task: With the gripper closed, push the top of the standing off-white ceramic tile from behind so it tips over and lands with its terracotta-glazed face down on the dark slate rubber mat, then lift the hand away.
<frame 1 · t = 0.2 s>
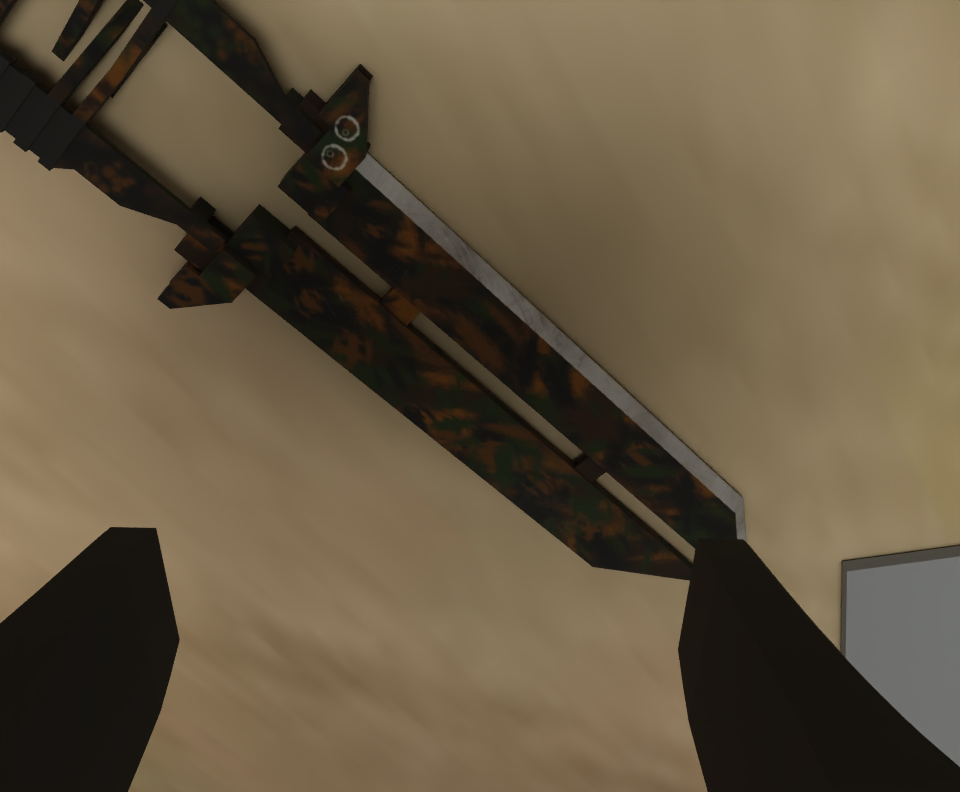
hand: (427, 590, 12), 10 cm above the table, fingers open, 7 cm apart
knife: (396, 262, 21), on the table
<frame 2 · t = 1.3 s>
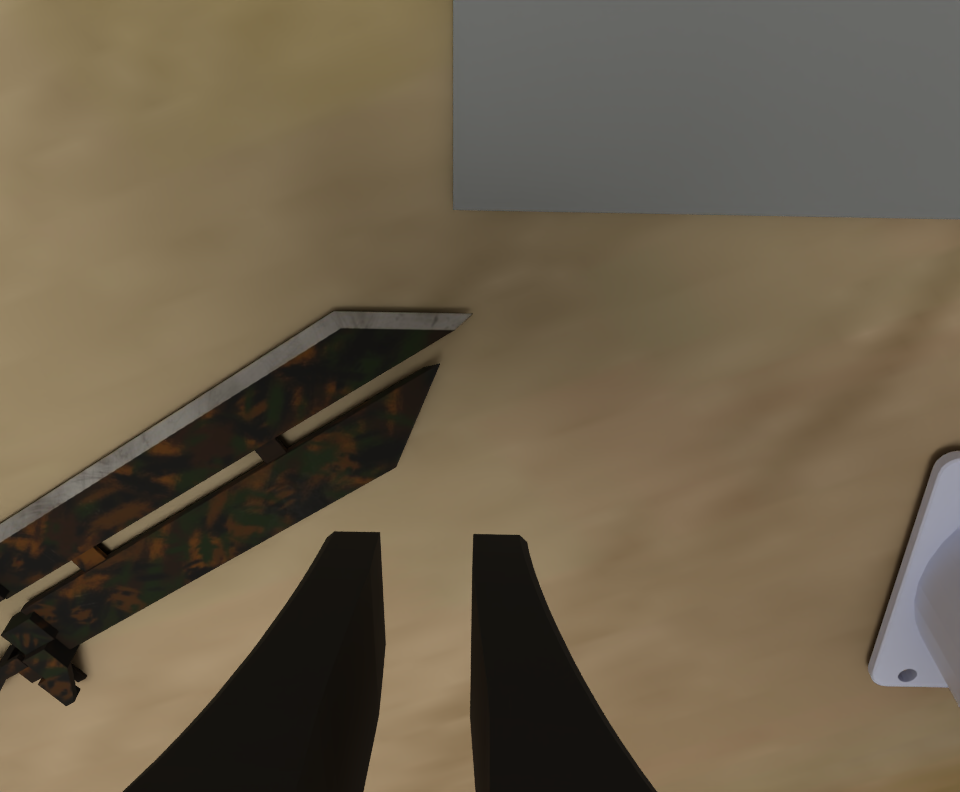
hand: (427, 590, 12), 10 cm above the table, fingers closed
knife: (77, 535, 26), on the table
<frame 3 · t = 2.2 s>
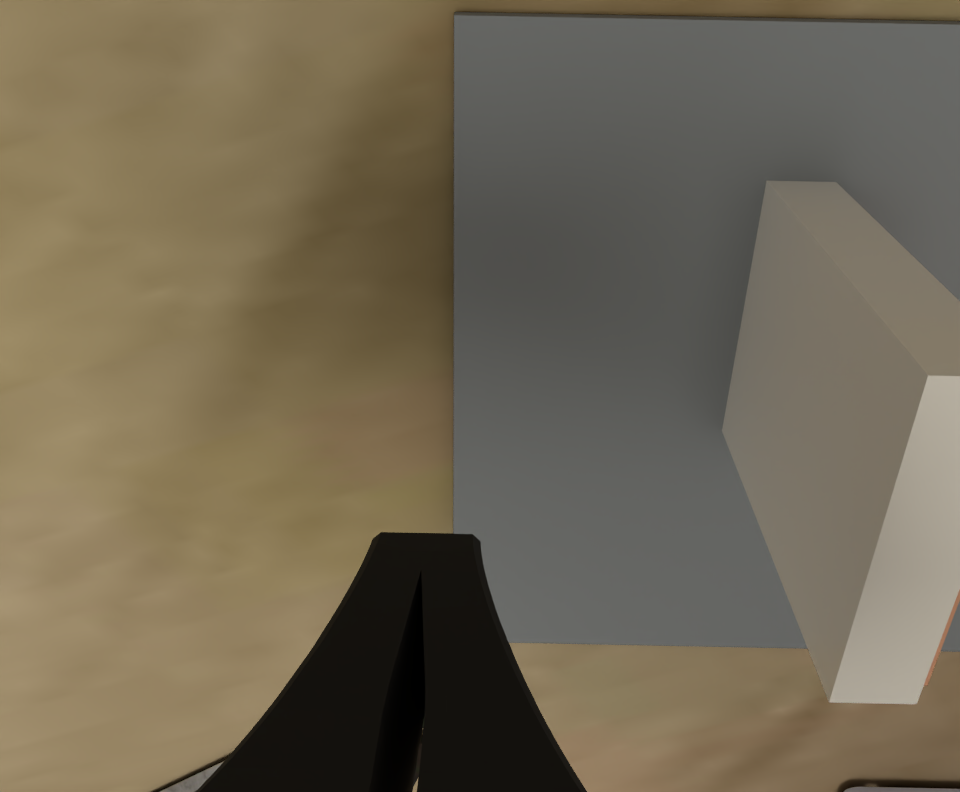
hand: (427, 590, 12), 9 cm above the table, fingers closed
tile: (774, 315, 20), resting on mat
mat: (797, 386, 21), on the table
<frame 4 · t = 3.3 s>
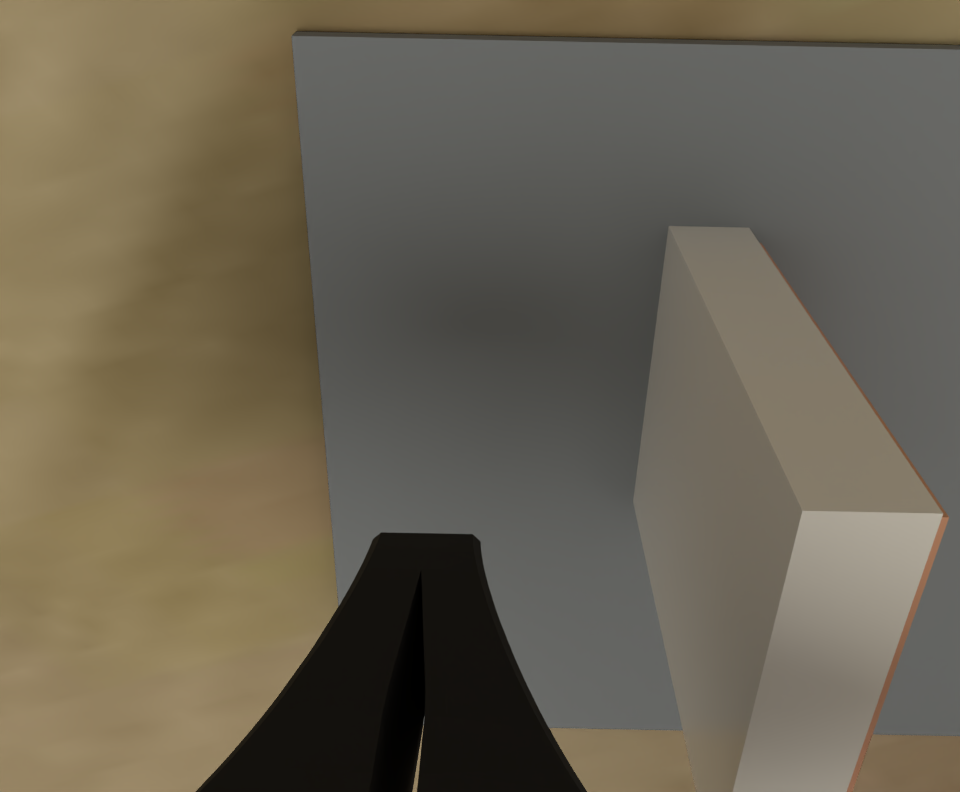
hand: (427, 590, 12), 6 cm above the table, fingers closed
tile: (685, 376, 18), resting on mat
mat: (718, 452, 19), on the table
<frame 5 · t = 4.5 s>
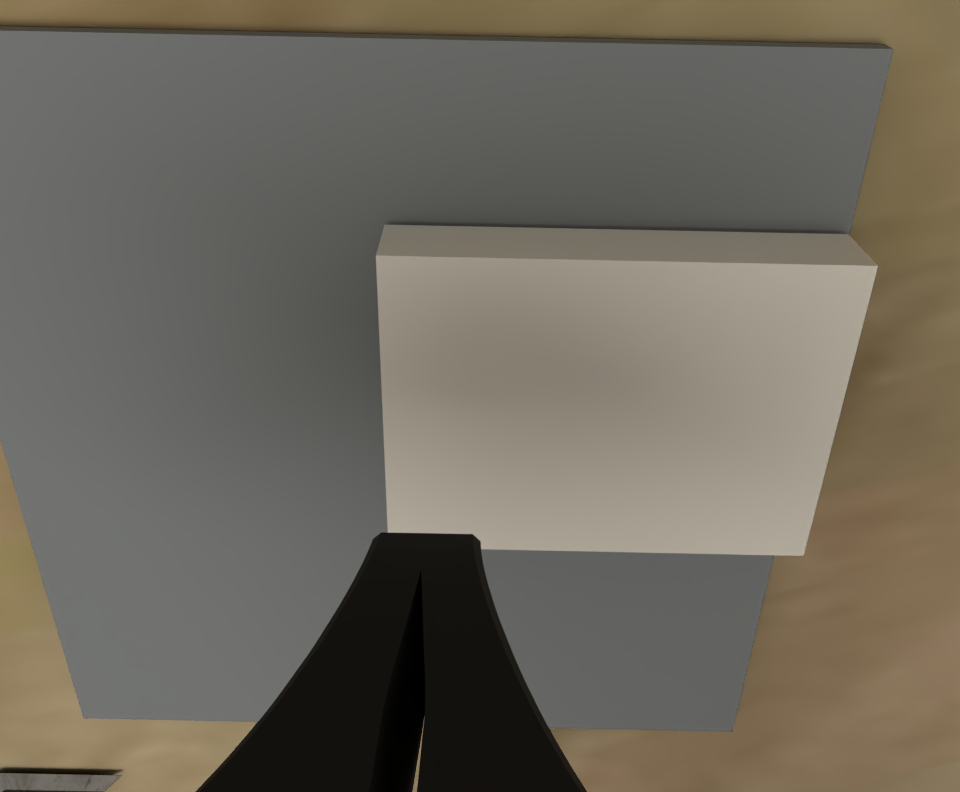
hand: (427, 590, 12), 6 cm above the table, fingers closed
tile: (386, 394, 17), point 1 cm above the table, tilted 90°, touching mat
mat: (400, 446, 19), on the table
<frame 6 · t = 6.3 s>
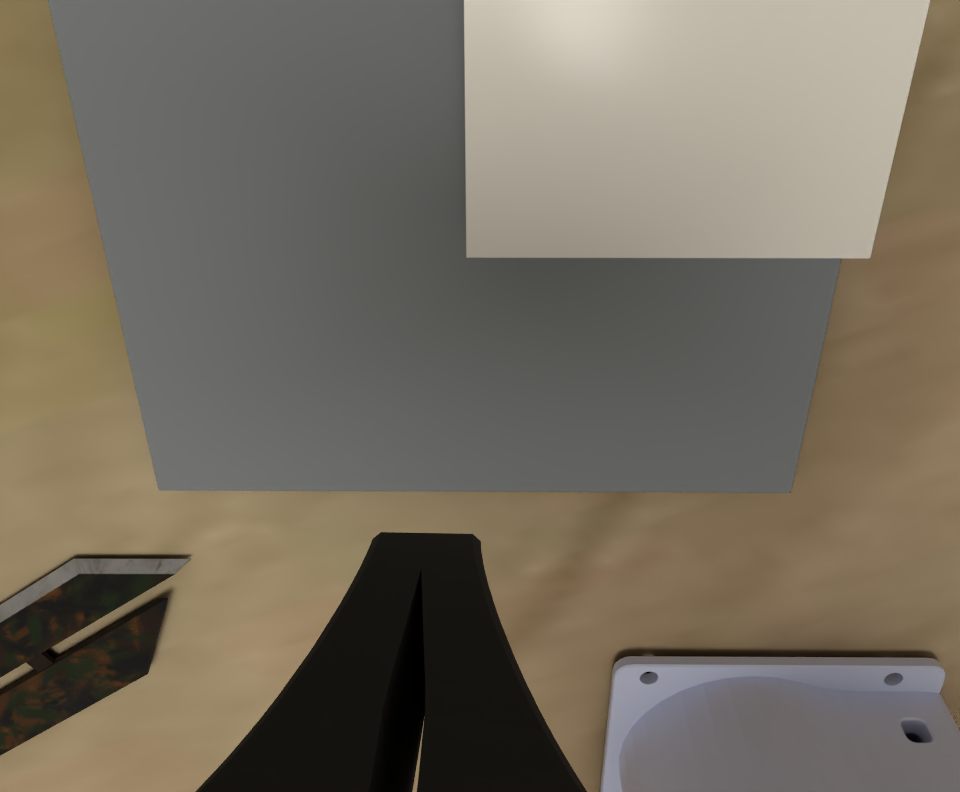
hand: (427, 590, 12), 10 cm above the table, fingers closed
tile: (465, 94, 17), point 1 cm above the table, tilted 90°, touching mat
mat: (472, 176, 19), on the table
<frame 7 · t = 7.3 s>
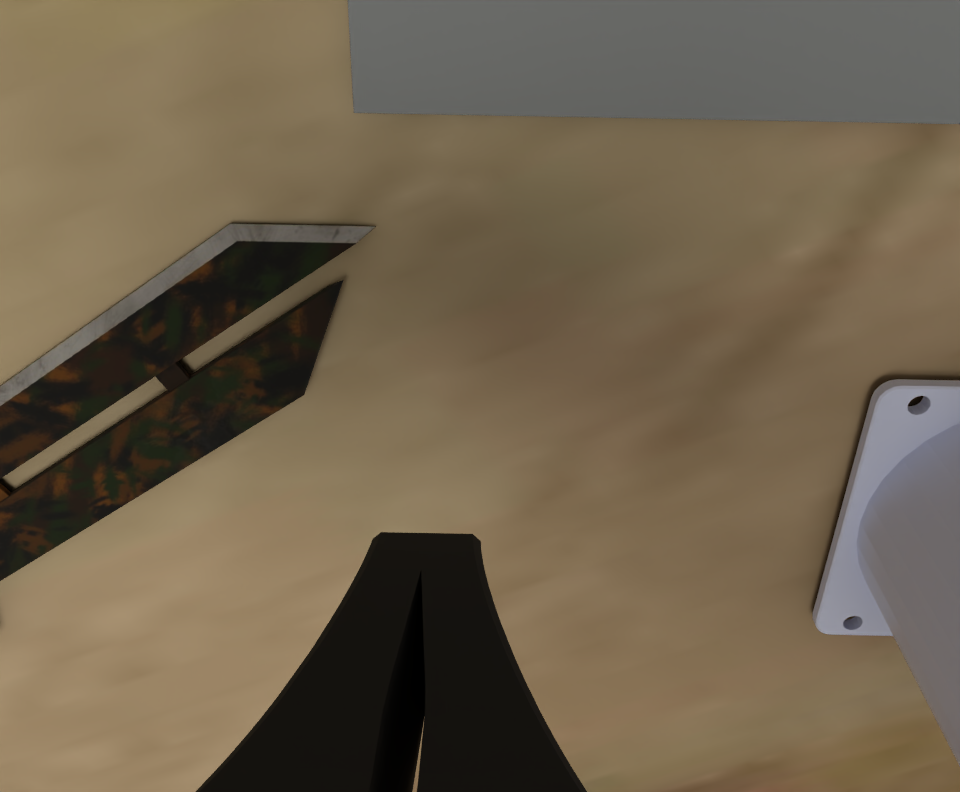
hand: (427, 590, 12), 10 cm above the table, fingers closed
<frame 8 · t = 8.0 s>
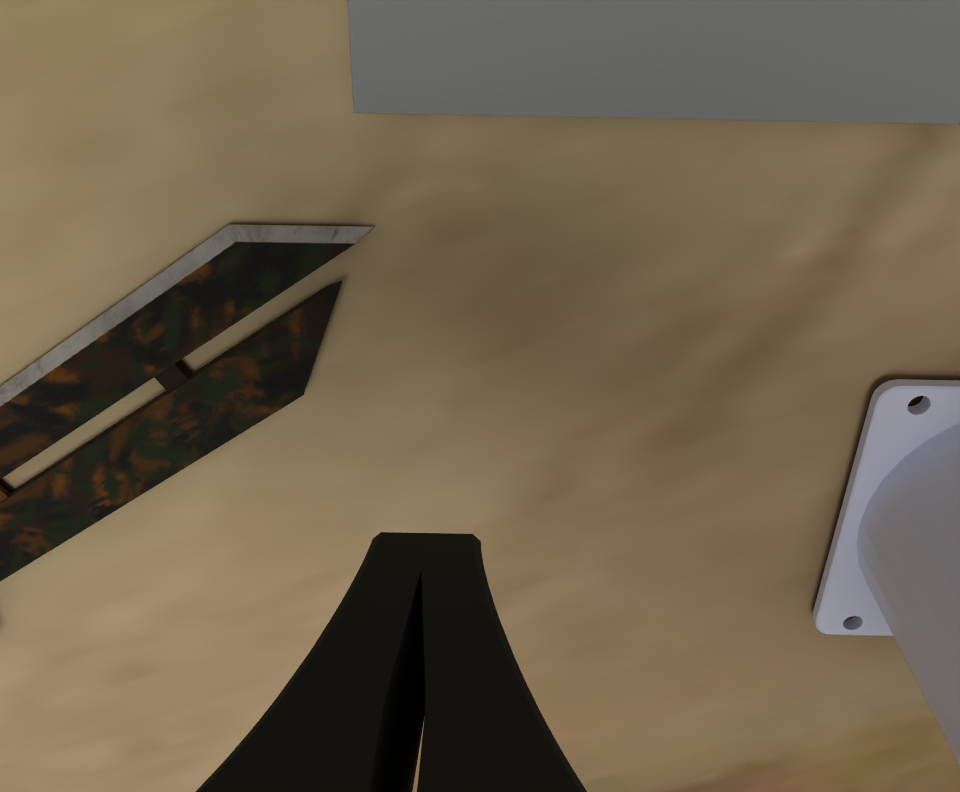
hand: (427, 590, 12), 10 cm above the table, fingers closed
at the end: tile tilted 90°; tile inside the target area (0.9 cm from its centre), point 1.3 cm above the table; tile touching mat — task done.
